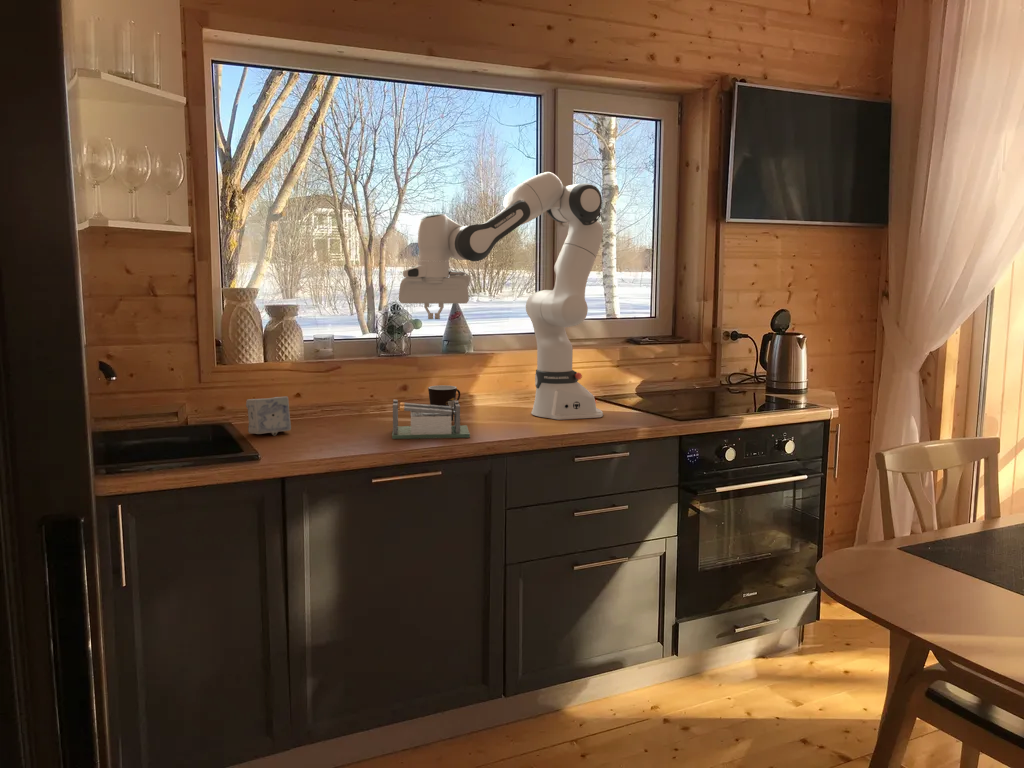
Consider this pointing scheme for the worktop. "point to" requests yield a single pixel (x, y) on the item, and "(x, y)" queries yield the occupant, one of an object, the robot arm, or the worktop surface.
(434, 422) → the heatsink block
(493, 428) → the worktop surface
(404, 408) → the strap
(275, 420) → the incense holder
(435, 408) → the silver flat bar
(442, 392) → the coffee mug
